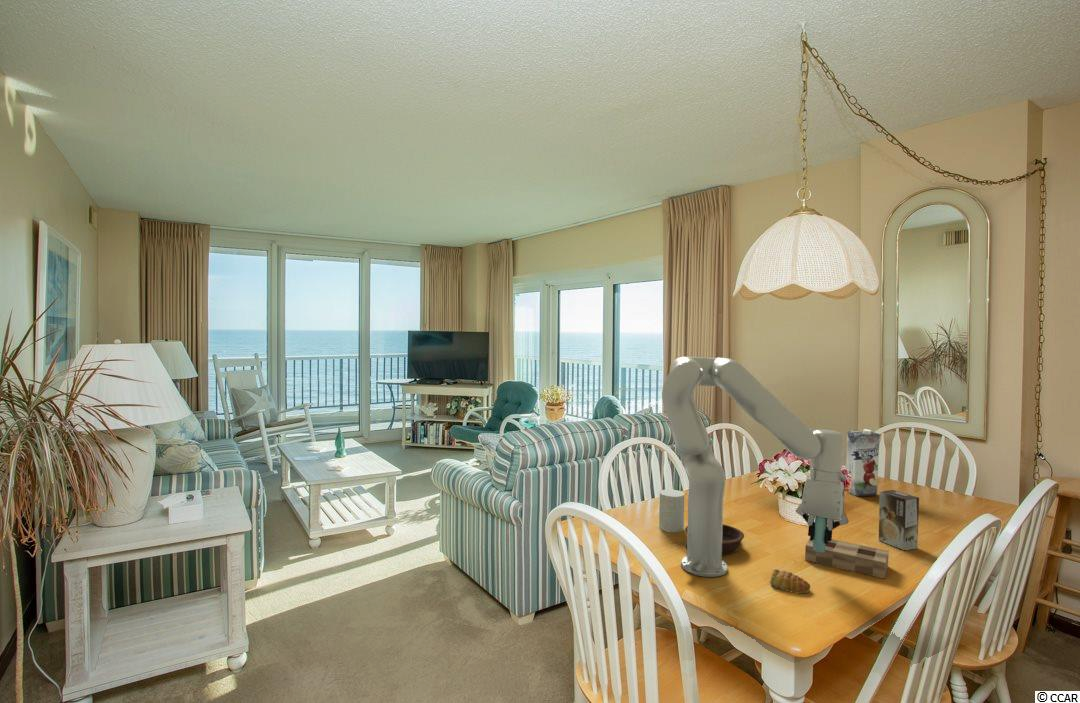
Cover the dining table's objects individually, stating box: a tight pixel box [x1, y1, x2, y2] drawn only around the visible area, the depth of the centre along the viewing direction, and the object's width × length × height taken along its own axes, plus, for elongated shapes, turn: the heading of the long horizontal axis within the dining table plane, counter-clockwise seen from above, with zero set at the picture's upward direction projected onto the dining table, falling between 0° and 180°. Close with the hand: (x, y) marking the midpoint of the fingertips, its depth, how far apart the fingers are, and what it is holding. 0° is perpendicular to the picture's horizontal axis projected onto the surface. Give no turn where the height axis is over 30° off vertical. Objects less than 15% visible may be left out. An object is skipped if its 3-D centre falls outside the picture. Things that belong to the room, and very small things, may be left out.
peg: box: [813, 516, 828, 552], centre depth 153 cm, size 3×3×10 cm
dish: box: [684, 524, 745, 555], centre depth 174 cm, size 18×22×5 cm
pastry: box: [769, 568, 811, 594], centre depth 147 cm, size 9×7×4 cm
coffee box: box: [878, 489, 920, 551], centre depth 176 cm, size 9×6×16 cm
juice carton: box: [845, 428, 881, 497], centre depth 229 cm, size 9×10×27 cm
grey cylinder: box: [658, 488, 685, 533], centre depth 189 cm, size 8×8×12 cm
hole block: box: [804, 538, 889, 579], centre depth 162 cm, size 10×20×4 cm, turn 54°
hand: (819, 540), depth 153 cm, fingers closed on peg, 3 cm apart
